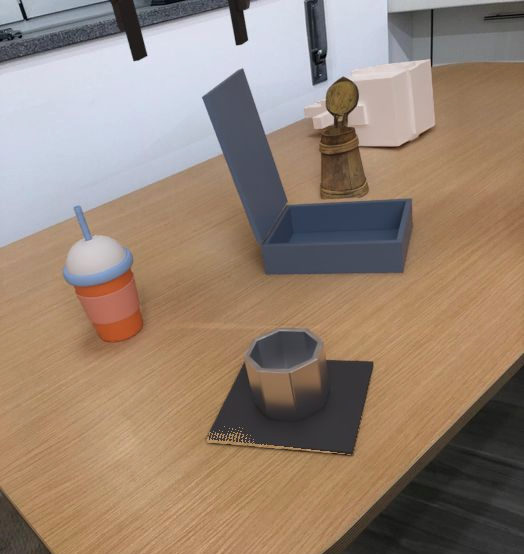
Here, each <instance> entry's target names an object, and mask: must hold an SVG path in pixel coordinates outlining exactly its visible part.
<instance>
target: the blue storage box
mask: <svg viewBox="0 0 524 554" xmlns="http://www.w3.org/2000/svg"><path fill="white" fill-rule="evenodd" d="M413 224H414V221H413V198H411V197H407V198H393V199H392V198H390V199H389V198H388V199H372V200H371V199H370V200H355V201H354V200H353V201H334V202H315V203H314V202H313V203H295V204H286V205H285V207H284V208H283V210H282V212H281V213H280V215H279V217H278V218H277V220H276V221H275V223H274V225H273V226H272V228H271V229H270V231H269V233H268V234H267V236H266V237H265V239H264V241H263V242H262V243H261V244H260V251H261V257H262V262H263V267H264V272H265V276H269V275H270V276H273V275H277V276H279V275H280V276H281V275H344V274H345V275H346V274H349V275H350V274H351V275H352V274H403V273H404V270H405V265H406V261H407V257H408V251H409V247H410V241H411V237H412V232H413V226H414V225H413Z"/></svg>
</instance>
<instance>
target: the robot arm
mask: <svg viewBox="0 0 524 554" xmlns="http://www.w3.org/2000/svg"><path fill="white" fill-rule="evenodd" d="M107 1H108V2H110V4H111V8H112V10H113V14H114V17H115V22H116V26H117V28H118V30H119V32H125V35H126V40H127V42H128V43H127V44H128V46H129V50H130V54H131V57H132V61H133V62H139V61H141V60H142V59H145V58H147V57H148V56H149V55H148V52H147V46H146V44H145V40H144V36H143V33H142V29H141V24H140V21H139V17H138V13H137V9H136V6H135V5H136V4H135V2H134V1H135V0H107ZM227 4H228V8H229V9H228V10H229V16H230V21H231V27H232V32H233V38H234V43H235V46H242V45H244V44H245V43H247V42H248V41H249V36H248V29H247V25H246V24H247V23H246V18H245V11H246V10H248V9H250V6H251V0H227Z"/></svg>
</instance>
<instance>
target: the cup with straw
mask: <svg viewBox="0 0 524 554" xmlns="http://www.w3.org/2000/svg"><path fill="white" fill-rule="evenodd" d="M73 211H74V214H75V216H76V220H77V222H78V224H79V225H78V226H79V227H80V230H81V232H82V236H83V238H81V239H79V240H78V241H76V242H75V243H74V244H73V245H72V246H71V247H70V249H69V251H68V252H67V255H66V257H65V264H64V266H63V267H62V276H63V279H64V280H65V282H66V283H67V284H68V285H70V286H72V287H73V288H74V293H75V295H76V297H77V299H78V301H79V303H80V305H81V307H82V309H83V310H84V313H85V315H86V316H87V318H88V320H89V321H90V322H91V323H92V325H93V328H94V329H95V331H96V333H97V334H98V336H99V338H100V339H101V340H103V341H104V342H110V343H114V342H115V343H116V342H121V341H125V340H127V339H130V338H132V337H134V336H135V335H136V334H138V333H139V332H140V331H141V329H142V328H143V325H144V321H143V317H142V313H141V307H140V306H141V301H140V297H139V293H138V292H139V291H138V287H137V283H136V279H135V274H134V272H133V271H132V266H133V264H134V256H133V254H132V252H131V250H130V249H128V248H127V247H125V246H123V245H122V244H121V243H120V242H119V241H118V240H116V239H114V238H112V237H110V236H108V235H101V234H95V235H92V234H91V231H90V228H89V225H88V222H87V220H86V217H85V214H84V212H83V209H82V206H81V205H75V206H73Z"/></svg>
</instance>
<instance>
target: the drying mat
mask: <svg viewBox="0 0 524 554" xmlns="http://www.w3.org/2000/svg"><path fill="white" fill-rule="evenodd" d="M326 362H327V369H328V377H329V384H330V389H329V393H328V397H327V401H326V404H325V406H324V407H323V408H322V409H321V410H320V411H319V412H318V413H316V414H315V415H313V416H311V417H309V418H307V419H304V420H300V421H295V422H280V421H275V420H272V419H270V418H268V417H267V416H265V415H264V414H263V413H262V412H261V410H260V408H259V407H258V406H257V405H256V404H255V403H254V399H253V394H252V390H251V386H250V382H249V377H248V373H247V369H246V364H245V361H243V364H242V366H241V368H240V369H239V372H238V374H237V376H236V378H235V379H234V381H233V384H232V386H231V388H230V390H229V392H228V393H227V395H226V398H225V399H224V400H223V401H224V402H223V403H222V405H221V407H220V410H219V411H218V414H217V416H216V417H215V419H214V421H213V423H212V425H211V427H210V429H209V432H211V433H213V435H212V434H211V433H210V436H209V440H210V438H211V435H212V438H211V439H212V440H213V439H214V440H218V441H219V439H220V440H221V441H222V440H223V441H225V438H226V437H225V436H226V435H227V433H228V435H227V439H226V441H227V440H228V439H229V438H228V437H229V434H230V433H231V435H232V434H234V436H235V435H236V434H235V433H237V432H238V434H237V438H236V442H238V436H239V433H241V435H240V439H239V442H241V443H242V441H241V440H242V439H243V442H244V443H246V442H247V443H249V442H248V441H249V440H250V443H252V442H253V441H254V442H253V443H255V444H261V445H262V444H264V445H266V444H267V445H274V446H284V447H293V448H301V449H311V450H320V451H330V452H337V453H345V454H353V455H354V453H353V451H354V452H355V449H354V447H355V448H356V445H355V442H356V443H357V440H356V438H358V436H357V434H358V435H359V431H358V429H359V430H360V427H359V425H360V426H361V423H360V420H361V421H362V418H361V416H362V417H363V414H362V412H363V413H364V410H363V407H364V408H365V405H364V403H365V404H366V401H365V399H366V400H367V396H368V392H367V390H368V391H369V388H368V386H369V387H370V383H371V379H370V378H372V374H373V370H374V364H375V363H374V361H373V360H372V361H370V360H347V359H346V360H343V359H341V360H340V359H326ZM369 382H370V383H369ZM366 395H367V396H366ZM224 426H225V427H224ZM239 427H240V428H239ZM229 428H230V429H229ZM232 428H233V430H232ZM242 428H243V429H242ZM235 429H236V430H235ZM219 430H220V431H219ZM238 430H239V431H238ZM213 431H214V432H213ZM222 431H223V432H222ZM228 431H229V432H228ZM231 431H232V432H231ZM240 431H242V432H240ZM209 432H208V434H209ZM215 432H216V435H217V433H219V435H218V438H217V436H216V435H214V434H215ZM233 432H235V433H233ZM221 433H222V435H223V434H225V435H224V438H223V439H222V437H223V436H222V435H221V438H219V436H220V434H221ZM208 434H207V435H206V437H207V436H208ZM242 434H244V437H243V438H241V437H242V436H243V435H242ZM247 434H248V435H247ZM246 435H247V436H246ZM250 435H251V436H250ZM214 436H215V438H213V437H214ZM234 436H233V442H234V441H235V440H234V438H235V437H234ZM231 437H232V436H230V438H231ZM246 437H247V439H245V438H246ZM216 438H217V439H216ZM249 438H250V439H249ZM206 439H207V438H205V440H206ZM253 439H254V440H253ZM231 440H232V439H229V441H231ZM245 440H246V442H245ZM253 443H252V444H253Z"/></svg>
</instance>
